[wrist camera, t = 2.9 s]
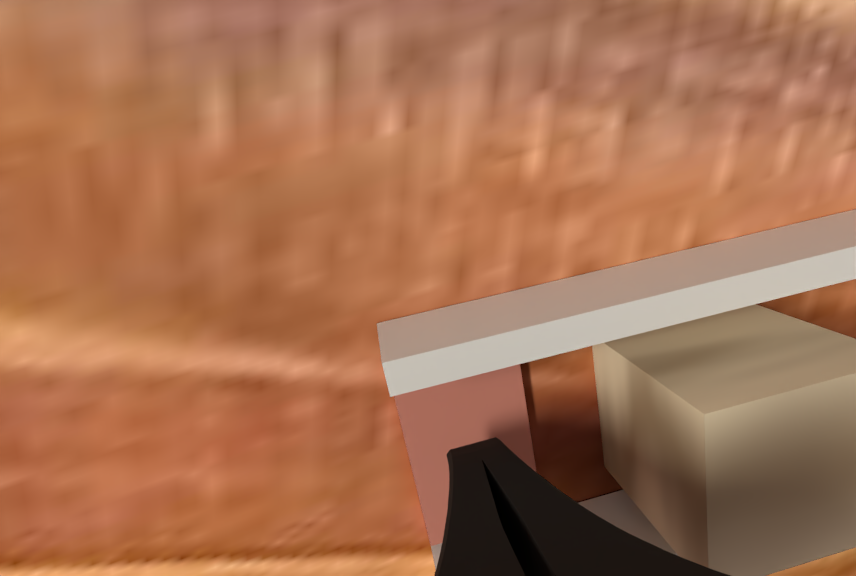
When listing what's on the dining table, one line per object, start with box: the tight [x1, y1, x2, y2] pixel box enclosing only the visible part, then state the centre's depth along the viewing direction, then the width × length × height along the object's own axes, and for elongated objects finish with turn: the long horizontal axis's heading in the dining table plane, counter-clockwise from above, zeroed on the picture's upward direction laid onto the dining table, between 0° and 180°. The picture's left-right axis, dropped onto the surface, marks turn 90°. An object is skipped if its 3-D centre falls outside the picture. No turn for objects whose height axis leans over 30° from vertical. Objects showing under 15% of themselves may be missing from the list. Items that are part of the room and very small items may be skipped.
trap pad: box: [394, 364, 537, 546], centre depth 13 cm, size 6×4×1 cm, turn 11°
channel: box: [377, 209, 856, 568], centre depth 13 cm, size 8×18×2 cm, turn 101°
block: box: [592, 304, 856, 576], centre depth 12 cm, size 4×4×4 cm
